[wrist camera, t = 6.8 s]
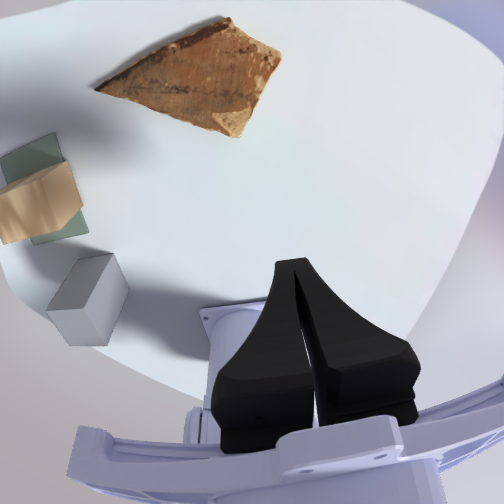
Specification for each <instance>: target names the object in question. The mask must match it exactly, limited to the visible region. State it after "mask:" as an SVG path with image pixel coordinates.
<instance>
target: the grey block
mask: <svg viewBox="0 0 504 504" xmlns="http://www.w3.org/2000/svg"><path fill="white" fill-rule="evenodd" d="M129 290H130V289H129V286H128V284H127V282H126V280H125V278H124V275H123V273H122V271H121V269H120V266H119V264H118V262H117V259H116V257H115V255H114V253H113V254H107V255H101V256H95V257H88V258H82V259H78V261H77V262H76V264H75V265H74V267H73V268H72V270H71V271H70V273H69V274H68V276H67V277H66V279H65V280H64V282H63V283H62V285H61V286H60V288H59V290H58V291H57V293H56V294H55V296H54V298H53V299H52V301H51V302H50V304H49V306H48V307H47V309H46V313H47V314H48V316H49V317H50V319H51V320H52V322H53V323H54V325H55V326H56V328H57V329H58V331H59V332H60V333H61V335H62V336H63V338H64V339H65V341H66V342H67V343H68V345H69V346H107V345H108V343H109V340H110V337H111V335H112V332H113V329H114V327H115V324H116V322H117V319H118V317H119V314H120V311H121V309H122V306H123V304H124V302H125V299H126V297H127V294H128V292H129Z"/></svg>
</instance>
